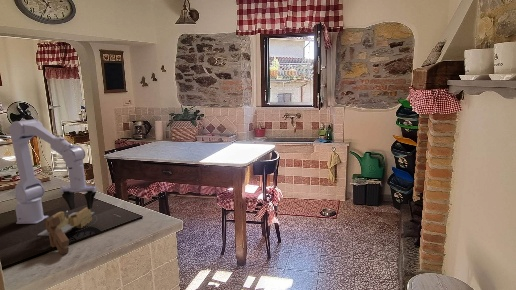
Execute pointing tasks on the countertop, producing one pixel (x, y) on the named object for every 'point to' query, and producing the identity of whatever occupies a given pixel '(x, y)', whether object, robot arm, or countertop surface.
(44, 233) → the board
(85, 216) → the tan block
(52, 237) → the figurine
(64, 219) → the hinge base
